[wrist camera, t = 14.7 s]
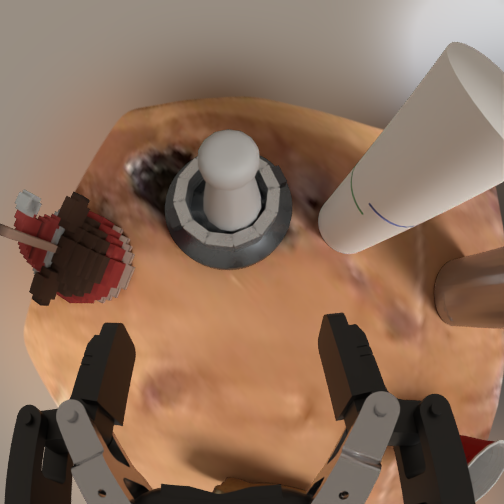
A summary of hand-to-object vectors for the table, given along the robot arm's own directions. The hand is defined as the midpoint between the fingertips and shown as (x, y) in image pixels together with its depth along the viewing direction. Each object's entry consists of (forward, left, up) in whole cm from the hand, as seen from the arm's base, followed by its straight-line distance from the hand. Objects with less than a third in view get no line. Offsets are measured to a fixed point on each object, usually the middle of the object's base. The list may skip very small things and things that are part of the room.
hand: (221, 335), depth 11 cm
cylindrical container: (-16, -4, -20) cm, 26 cm away
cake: (+13, -11, -20) cm, 26 cm away
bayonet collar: (-4, -11, -20) cm, 23 cm away
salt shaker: (-4, -10, -18) cm, 21 cm away
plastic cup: (-18, +33, -20) cm, 42 cm away
